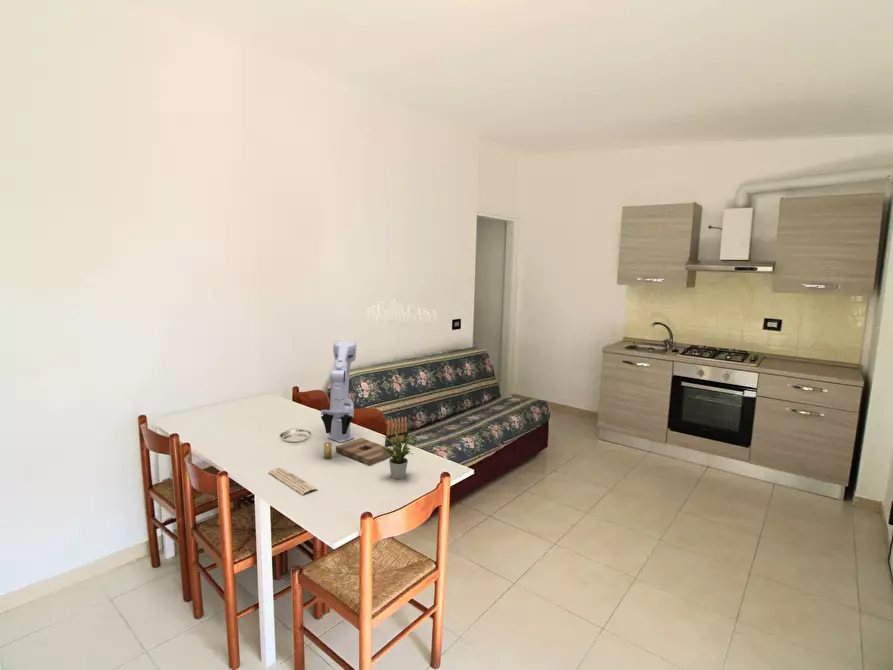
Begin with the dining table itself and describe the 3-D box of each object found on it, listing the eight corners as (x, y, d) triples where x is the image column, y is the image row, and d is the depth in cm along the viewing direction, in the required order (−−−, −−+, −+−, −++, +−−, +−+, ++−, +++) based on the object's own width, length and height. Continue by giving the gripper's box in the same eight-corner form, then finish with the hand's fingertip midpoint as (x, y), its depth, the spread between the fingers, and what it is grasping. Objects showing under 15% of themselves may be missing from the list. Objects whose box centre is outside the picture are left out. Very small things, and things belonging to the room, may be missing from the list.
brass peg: (322, 457, 198) (322, 443, 197) (328, 455, 201) (328, 441, 200) (327, 459, 196) (327, 445, 196) (333, 457, 199) (333, 443, 198)
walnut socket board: (336, 452, 204) (336, 446, 204) (360, 443, 215) (360, 437, 215) (369, 465, 193) (369, 459, 192) (394, 455, 204) (394, 449, 203)
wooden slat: (268, 475, 182) (268, 470, 182) (285, 469, 187) (285, 465, 187) (302, 497, 167) (302, 492, 166) (320, 491, 172) (320, 486, 171)
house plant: (399, 463, 196) (400, 424, 193) (425, 474, 187) (426, 433, 185) (372, 474, 185) (373, 433, 182) (398, 486, 176) (400, 443, 174)
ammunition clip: (405, 441, 220) (406, 415, 218) (407, 442, 219) (408, 416, 217) (384, 445, 214) (385, 419, 212) (386, 447, 212) (387, 420, 211)
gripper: (316, 399, 197) (315, 433, 196) (347, 400, 192) (345, 435, 190) (327, 399, 204) (325, 432, 202) (357, 399, 198) (355, 433, 197)
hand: (336, 433), depth 197 cm, fingers open, 7 cm apart
